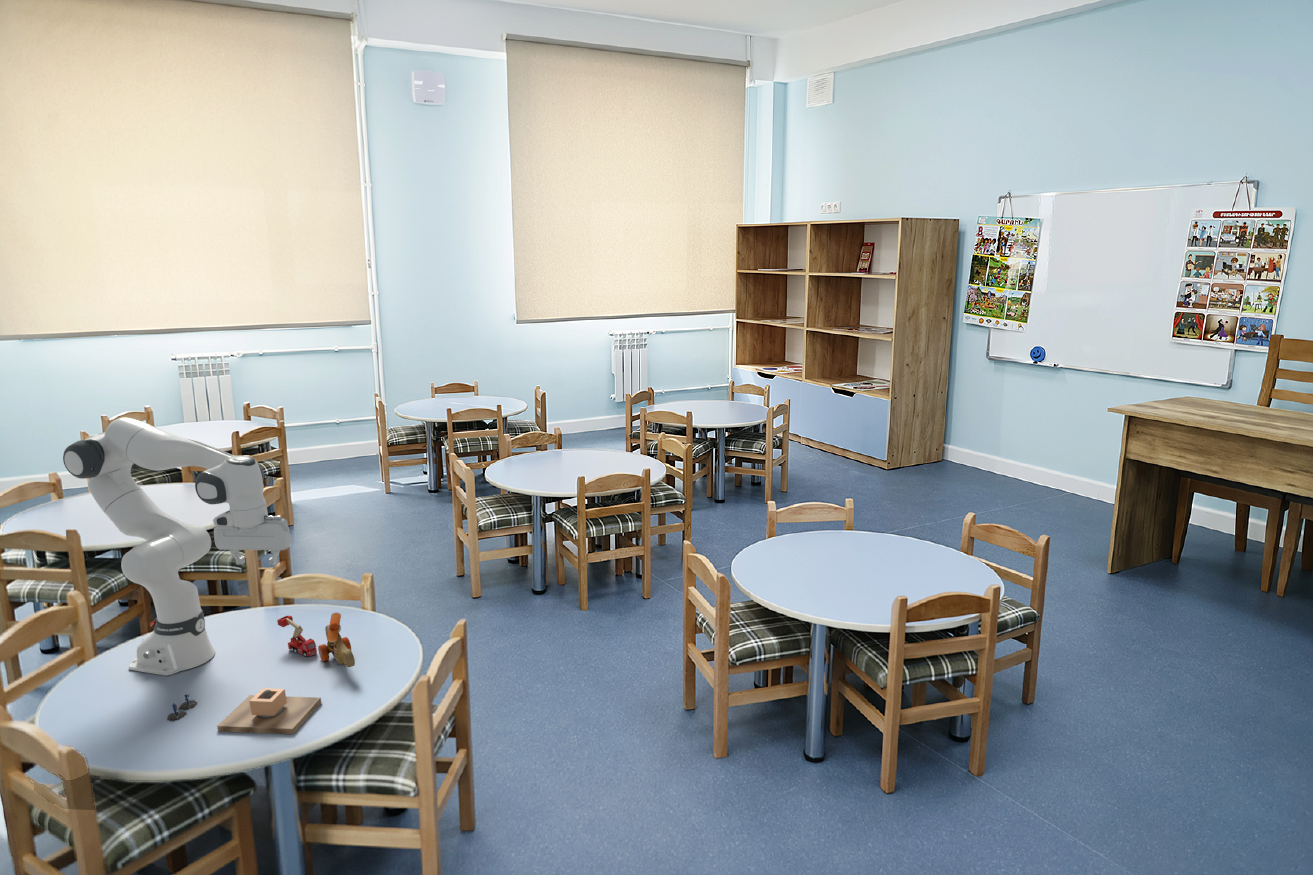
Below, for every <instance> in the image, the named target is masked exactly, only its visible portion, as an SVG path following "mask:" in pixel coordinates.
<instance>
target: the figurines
mask: <svg viewBox="0 0 1313 875" xmlns="http://www.w3.org/2000/svg"><path fill="white" fill-rule="evenodd" d="M190 694H191V692H189V693H185V694H184V700H185V701H184V702H183V703H182V704H181V705H179V707H178V705H177V704H176V703H175V702H173V703H172V704H171V706H172V711H173V712H171V713H169V714H168V715H167V718H166V720H167V721H169V722H174V721H179V720H181V719H182V718H185V716H187V715H188V713H187V711H188V710H192V709H194V708H196V706H197V705H198V701H195V699H191V700H189V698H190ZM177 710H179V711H177Z"/></svg>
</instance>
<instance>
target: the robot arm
mask: <svg viewBox="0 0 1313 875" xmlns="http://www.w3.org/2000/svg"><path fill="white" fill-rule="evenodd" d="M62 462H63V465H64V467H65V468H66V470H67V471H68V473H70V474H71V475H72V476H73V477H75V478H77V479H80V480H81V479H82V480H83V479H85V480H86V479H89V480H88V483H87V484H88V490H89V492H90V493H91V496H92V497H93V499H94V501H95V503H96V504H97V505H98V506H99V508H100V509H101V510H102V512H103V513H104V514H105V515H106V517H107V518H108V519H109V520H110V521H111V522H112V523H113V525H114V526H115V527H116V528H117V529H118V530H119V532H121V534H123V535H125V536H127V537H137V538H140V539H143V540H145V541H144V542H141V543H139V544H138V545H136V546H134V547H133V548H131V549H130V550H129V551H128V552H125V554H124V555H122V559H121V565H120V566H121V571H122V573H123V575H124V576H125V577H126V578H127V579H128V580H129V581H130V582H133V584H137V585H140V586H142V587H144V588H145V589H146V590H147V591H148V592H149V594H150V596H151V598H152V601H153V606H154V608H155V613H156V618H154V620H153V621H151V622H150V623H149V625H150V626H149V627H150V628H152V627H153V626H154V628H153V631H152V632H150V633H149V634H148V635H147V636H145V638H144V639H143V640H141V641H140V642H139V644H138V646H137V647H136V657H134V658H133V659H132V660H131V662H129V665H128V670H130V671H135V672H142V673H146V674H147V673H148V674H155V675H159V676H171V675H174V674H176V673H179V672H182V671H187V670H189V669H193V668H196V667H198V666H201V665H203V664H206V663H207V662H208V661H209V660H212V659H213V658H214V656H215V654H216V651H215V649H214V647H213V645H212V643H211V641H210V638H209V636H208V633H207V630H206V623H205V622H206V619H205V616H204V611H203V609H202V608H201V601H200V596H199V591H198V587H197V586H196V585H195V584H194V583H192V582H190V581H189V580H184V579H181V578H180V575H179V570H180V569H182V568H184V567H187V566H189V565H191V564H193V563H195V562H197V561H199V560H200V559H201V558H203V557H204V556H205V555H207V553H209V552H210V550H211V547H212V539H211V536H210V533H209V532H208V531H207V530H206V529H205V528H204V527H202V526H200V525H199V524H198V525H197V524H191V523H186V522H184V521H181V520H178V519H176V518H174V517H172V516H171V515H170V514H168V513H166V512H165V511H163V510H162V509H160V507H159V506H158V505H157V504H156V503H155V502H154V501H153V500H152V499H151V498H150V497H149V495H148V494H147V493H146V492H145V491H144V490H143V488H142V487H141V486H140V485H139V484H138V483H137V482H136V481H135V480H134V478H133V476H132V474H131V473H132V470H138V469H140V468H143V469H146V470H151V471H156V472H157V471H158V472H159V471H165V470H170V469H172V470H173V469H177V468H183V467H185V468H186V467H201V468H204V469H206V470H204V471H202V472H199V473H198V474H197V475H196V477H195V481H194V487H195V492H196V495H197V497H198V498H199V499H200V500H201V501H202V502H204V503H206V504H207V505H221V504H223V503H227V504H228V505H229V509H228V510H227V511H225V512H222V513H220V514H218V515H217V516H215V517H214V518H213V520H212V521H213V522H212V523H213V525H214V527H213V538H214V544H215V546H216V548H217V549H218V550H221V551H223V550H227V551H228V550H229V552H230V554H231V555H232V557H233V558H234V559H235V563H236V565H244V564H245V563H246V560H245V556H244V555H243V556H242V554H241V553H240V552H239V551H247V550H248V551H270V554H271V555H272V556H271V557H270V558H269V559H268V564H269V566H271V565H272V566H276V565H277V564H278V563H279V562H278V560H279V559H278V556H279V555H280V552H281V551H286V550H287V549H288V548H289V547H291V546H292V545H293V544H292V543H293V539H292V534H291V532H290V528H289V523H288V522H289V521H288V520H287V519H286V518H284V517H283V516H282V515H269V512H268V506H267V501H266V498H265V496H264V488H265V486H264V479H265V474H264V469H263V468H262V466H261V464H260V463H259V462H258V461H257V459H256V458H254V457H252V456H249V455H245V454H243V455H238V454H237V455H234V454H231V453H229V452H227V451H224V450H221V449H218V448H216V447H214V446H211V445H208V444H206V443H203V442H201V441H198V440H197V441H196V440H193V439H188V438H186V437H181V436H178V435H175V434H172V433H169V432H167V431H164V430H162V429H160V428H157V427H155V426H153V425H151V424H149V423H147V422H144V421H141V420H138V419H135V418H131V417H126V416H125V417H120V418H117V419H114V420H113V421H111V422H110V423H109V424H108V426H107V427H106V429H105V431H104V432H101V433H98V434H96V435H93V436H90V437H87V438H85V439H80V440H77V441H75V442H73V443H71V444H70V445H68V446H67V447H66V448H65V450H64V452H63V455H62Z"/></svg>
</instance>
